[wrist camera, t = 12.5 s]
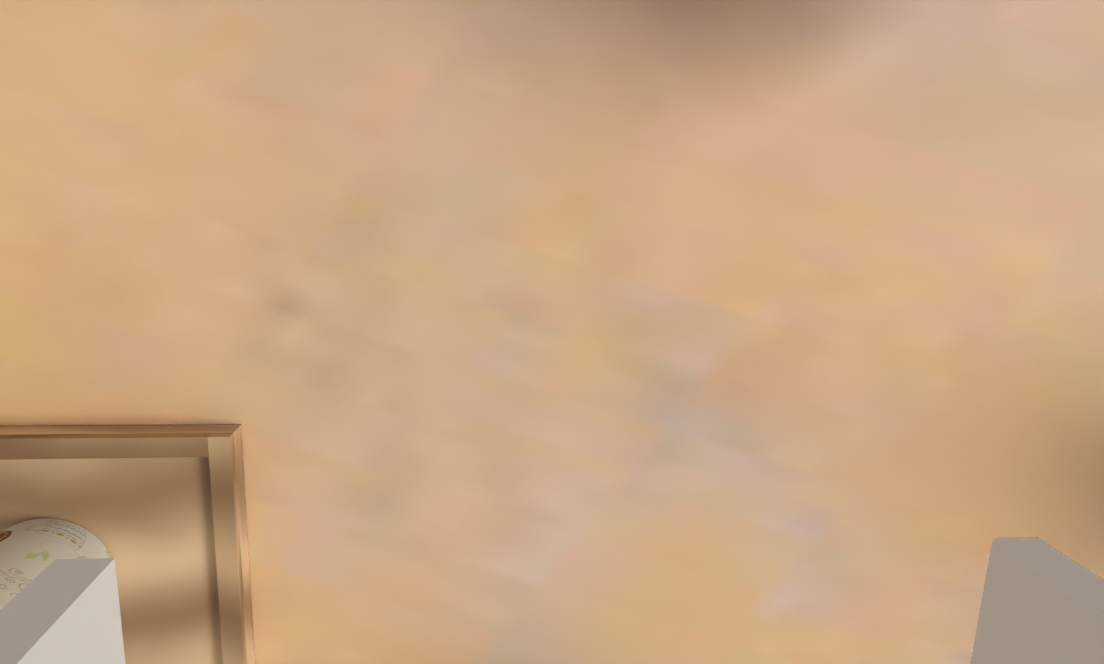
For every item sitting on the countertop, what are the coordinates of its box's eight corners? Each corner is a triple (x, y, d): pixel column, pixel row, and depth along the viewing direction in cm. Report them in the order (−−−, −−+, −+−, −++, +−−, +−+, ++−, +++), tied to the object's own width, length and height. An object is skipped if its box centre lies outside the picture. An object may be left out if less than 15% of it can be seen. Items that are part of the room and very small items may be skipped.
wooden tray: (-160, 427, 34) (-194, 440, 32) (241, 424, 36) (229, 436, 34) (-101, 756, 38) (-129, 784, 36) (259, 735, 40) (249, 761, 38)
